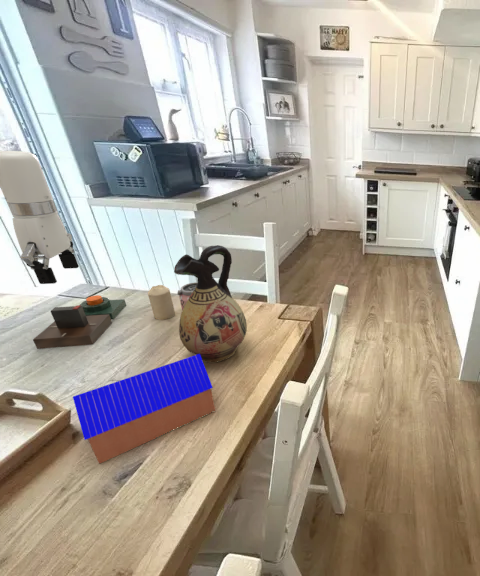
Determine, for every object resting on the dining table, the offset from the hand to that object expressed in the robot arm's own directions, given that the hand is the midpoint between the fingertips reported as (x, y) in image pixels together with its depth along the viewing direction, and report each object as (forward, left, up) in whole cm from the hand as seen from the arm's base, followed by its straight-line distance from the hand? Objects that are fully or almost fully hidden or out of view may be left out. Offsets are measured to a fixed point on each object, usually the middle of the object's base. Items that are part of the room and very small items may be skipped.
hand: (60, 275), depth 83 cm
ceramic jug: (+38, -15, -18) cm, 45 cm away
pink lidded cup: (+29, +2, -18) cm, 34 cm away
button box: (-1, +11, -18) cm, 21 cm away
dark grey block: (-1, -1, -15) cm, 15 cm away
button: (-1, +11, -14) cm, 18 cm away
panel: (-1, -1, -18) cm, 18 cm away
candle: (+18, +7, -18) cm, 26 cm away
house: (+29, -36, -18) cm, 50 cm away
